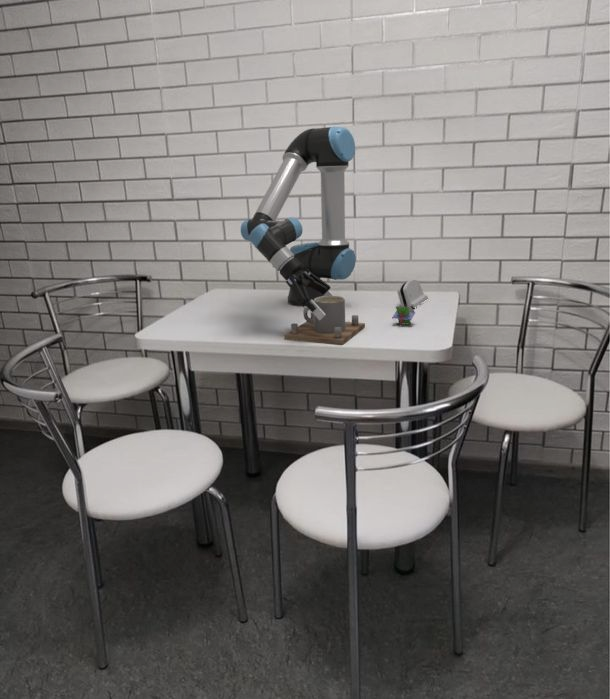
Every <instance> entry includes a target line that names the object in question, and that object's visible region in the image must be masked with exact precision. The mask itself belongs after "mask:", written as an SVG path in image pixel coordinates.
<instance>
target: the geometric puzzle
mask: <svg viewBox="0 0 610 699" xmlns="http://www.w3.org/2000/svg"><path fill="white" fill-rule="evenodd" d="M414 310H415V309H413V306H408V305H406V306H405V307H404V306H403V307H401V306H396V307H395V311H394V314H393V315H392V317H391V319H393V320H394V321H395V322H398V324H399V325H401V326H403V325H407V324H406V323H410V324H411V321H412V320H413V318H414V316H415V314H416V312H415V311H414ZM396 319H397V320H398V321H397V320H396ZM403 323H405V324H403Z"/></svg>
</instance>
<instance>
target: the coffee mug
mask: <svg viewBox="0 0 610 699" xmlns="http://www.w3.org/2000/svg"><path fill="white" fill-rule="evenodd" d="M345 300H346V299H345V297H344V296H339V295H334V296H321V297H317V298H315V299H314V302H315V303H316V304H317V305H318V306H319V308H320V309H321V310H322V311H323V312H324V313H325V314H326V315H325V316H324V317H323V318H322V319H321V320H320V321H319V319H318V318H317V317H316V316H315V315H314V316H313V317H312V318H311V317H309V316H308V311H310V310H309V309H308V307H307V306H304V307H303V311H302V312H303V318H304V320H305V322H306V321H307V322H309V323H312V324H314V326H315V331H316V332H319V333H334V328H335V327H341V331H344V330H345V322H346V302H345Z"/></svg>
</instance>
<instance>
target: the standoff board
mask: <svg viewBox="0 0 610 699" xmlns="http://www.w3.org/2000/svg"><path fill="white" fill-rule="evenodd" d="M313 316H314V314H313V313H312V312H311V311H310V318H312V317H313ZM290 328H291V330H290V331H288V332H287V333H285V334H284V340H286V341H287V340H289V341H297V342H298V341H301V342H307V343H308V342H309V343H320V344H328V345H329V344H331V345H341V346H343V345H345V344H347V342H348V341H349V340H351V339H353V337H355V336H356V335H357V334H359V333H360V332H361V331H363V330H364V329H365V328H366V323H364V322H359V315H358V314H353V315H351V321H345V330H344V331H341V327H335V328H334V333H319V332H316V331H315V326H314V324H312V323H309V322H307V321H306V320H305V322H303V323H301V324H300V325H299V324H298V323H291V324H290Z"/></svg>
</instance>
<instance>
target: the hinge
mask: <svg viewBox="0 0 610 699" xmlns="http://www.w3.org/2000/svg"><path fill="white" fill-rule="evenodd" d="M397 295H398V299H399V303H400V307H403V306H404V307H405V306H406V305H408V306H410V307H412V309H413V308H415V307H417V306H418V305H420V304H421V303H422V302H424V301H425V300H427V299H428V300H429V297H428V295H427V294H425V293H424V291H423V288H422V286H421V283H420V281H419V280H417V279H411V280H407V281H405V282H403V283H402V284H400V285H399V287H398V288H397Z"/></svg>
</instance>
